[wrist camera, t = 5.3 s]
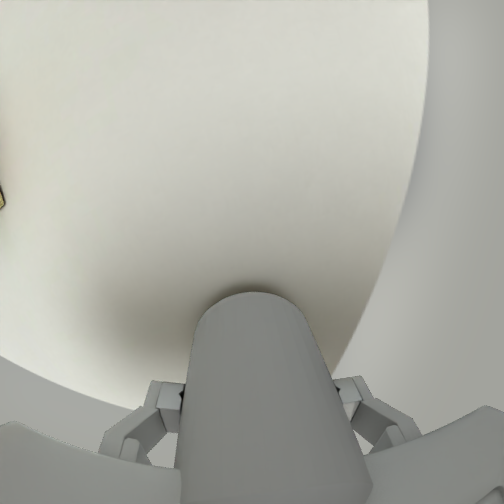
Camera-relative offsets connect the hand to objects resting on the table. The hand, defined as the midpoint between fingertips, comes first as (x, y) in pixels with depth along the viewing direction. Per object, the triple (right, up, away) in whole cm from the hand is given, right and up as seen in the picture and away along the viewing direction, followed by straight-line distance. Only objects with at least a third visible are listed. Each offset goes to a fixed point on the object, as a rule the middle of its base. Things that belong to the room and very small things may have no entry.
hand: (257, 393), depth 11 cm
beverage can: (0, +2, +5) cm, 5 cm away
